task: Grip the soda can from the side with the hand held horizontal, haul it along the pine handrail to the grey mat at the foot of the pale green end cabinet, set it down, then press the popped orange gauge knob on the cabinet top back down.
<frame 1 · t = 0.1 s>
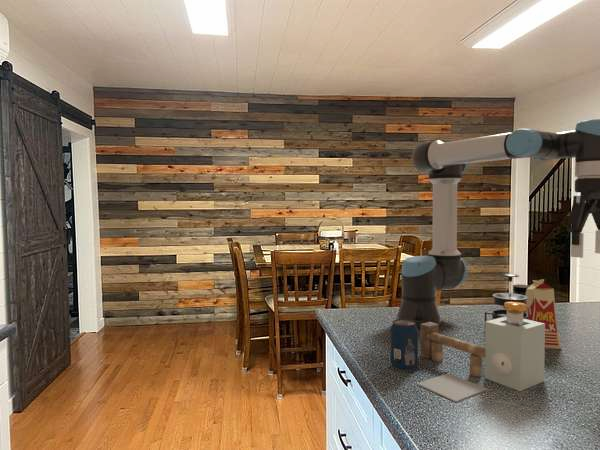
hand: (589, 255, 119), 28 cm above the countertop, tool pointing down, fingers open, 13 cm apart
handrail: (455, 367, 113), on the countertop
supplement container: (522, 313, 167), on the countertop
french press: (507, 356, 121), on the countertop
gauge knob: (514, 318, 104), point 15 cm above the countertop, slide at 0.0 cm
mat: (451, 387, 101), on the countertop
soda can: (404, 367, 113), on the countertop
milk carton: (539, 343, 131), on the countertop
cabinet: (514, 379, 105), on the countertop
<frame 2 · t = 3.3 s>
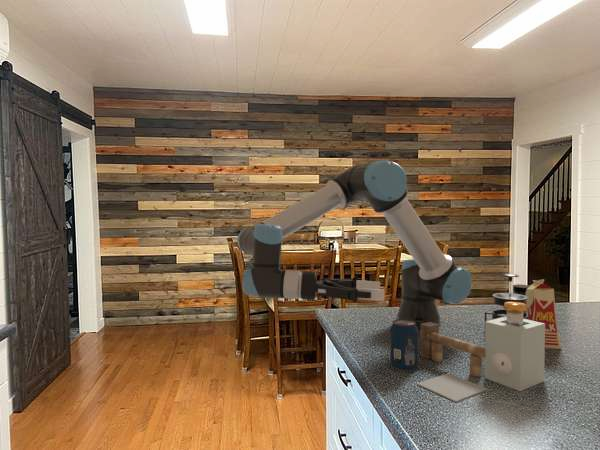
hand: (382, 290, 113), 20 cm above the countertop, tool horizontal, fingers open, 13 cm apart
nothing on the countertop moved.
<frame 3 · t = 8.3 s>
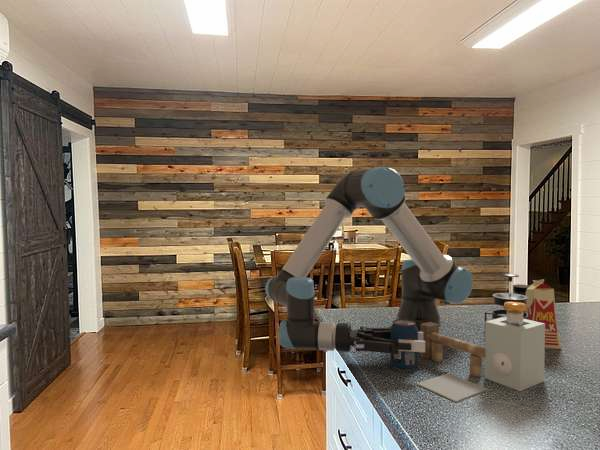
hand: (424, 341, 112), 7 cm above the countertop, tool horizontal, fingers closed on soda can, 7 cm apart
soda can: (404, 367, 113), on the countertop, touching gripper
everything else where it was.
when the fingers open (8 cm above the countertop, at t = 12.9 s): soda can drops 1 cm, resting on mat.
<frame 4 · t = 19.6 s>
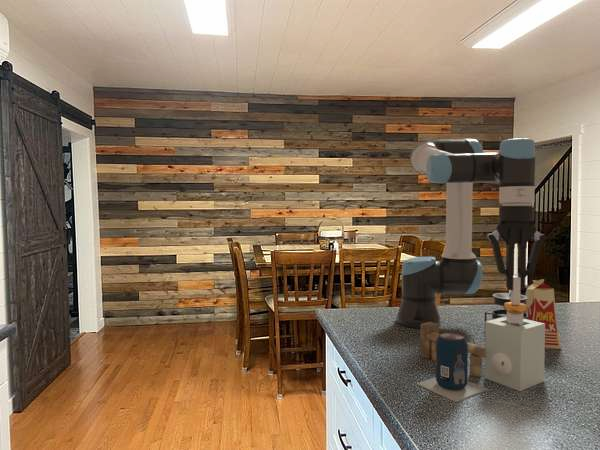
hand: (515, 303, 104), 19 cm above the countertop, tool pointing down, fingers closed
gauge knob: (514, 319, 104), point 15 cm above the countertop, slide at 0.1 cm, touching gripper
soda can: (451, 386, 101), resting on mat
everything else where it was.
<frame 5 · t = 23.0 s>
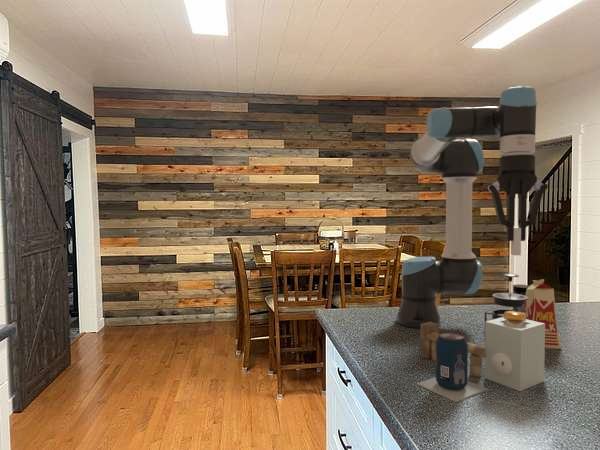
hand: (515, 254, 103), 30 cm above the countertop, tool pointing down, fingers closed
gauge knob: (514, 328, 104), point 13 cm above the countertop, slide at 2.4 cm
everything else where it was.
at the end: soda can inside the target area (0.1 cm from its centre), resting on mat; soda can tilted 0°; gauge knob slide at 2.4 cm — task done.
